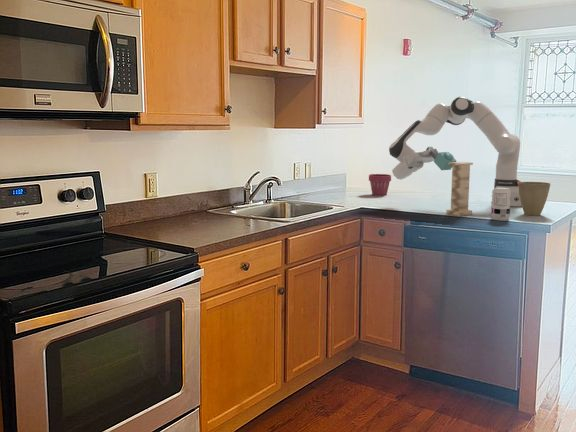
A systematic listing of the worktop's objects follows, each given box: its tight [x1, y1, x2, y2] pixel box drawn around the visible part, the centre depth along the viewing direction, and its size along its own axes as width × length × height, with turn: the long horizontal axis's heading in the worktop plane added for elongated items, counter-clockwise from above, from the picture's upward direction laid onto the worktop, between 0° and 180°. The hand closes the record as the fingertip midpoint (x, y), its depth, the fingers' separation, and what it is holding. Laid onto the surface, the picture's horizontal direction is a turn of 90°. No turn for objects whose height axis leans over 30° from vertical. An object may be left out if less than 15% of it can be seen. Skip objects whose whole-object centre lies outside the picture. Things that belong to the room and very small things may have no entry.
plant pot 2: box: [518, 181, 551, 216], centre depth 292 cm, size 15×15×16 cm
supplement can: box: [490, 187, 511, 221], centre depth 278 cm, size 8×8×15 cm
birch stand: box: [445, 161, 474, 217], centre depth 293 cm, size 9×9×26 cm
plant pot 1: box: [368, 173, 392, 197], centre depth 372 cm, size 14×14×13 cm
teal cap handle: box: [425, 146, 457, 171], centre depth 301 cm, size 16×7×7 cm
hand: (433, 150), depth 305 cm, fingers closed on teal cap handle, 3 cm apart
